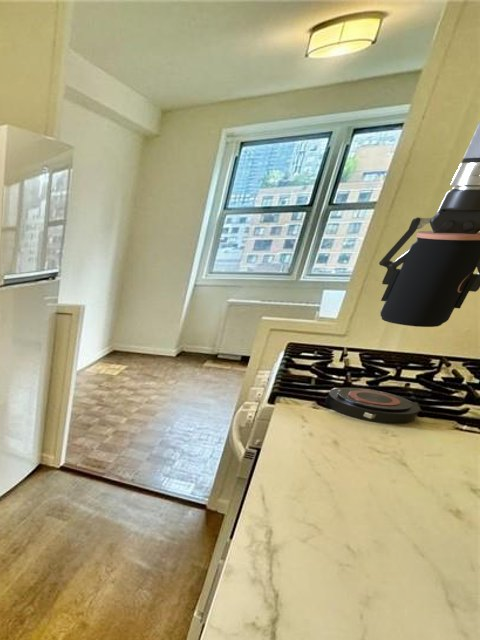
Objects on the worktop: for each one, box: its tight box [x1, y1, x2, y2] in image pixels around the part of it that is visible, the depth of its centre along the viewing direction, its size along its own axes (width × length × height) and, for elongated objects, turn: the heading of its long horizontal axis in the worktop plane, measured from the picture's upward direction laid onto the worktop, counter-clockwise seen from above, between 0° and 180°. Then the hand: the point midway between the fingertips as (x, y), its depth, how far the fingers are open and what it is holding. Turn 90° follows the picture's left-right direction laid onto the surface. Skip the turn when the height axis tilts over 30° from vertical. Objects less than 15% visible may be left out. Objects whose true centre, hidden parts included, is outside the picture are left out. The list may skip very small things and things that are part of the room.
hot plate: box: [324, 387, 421, 425], centre depth 115 cm, size 16×16×3 cm
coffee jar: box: [379, 230, 480, 328], centre depth 102 cm, size 11×11×18 cm
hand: (419, 303), depth 105 cm, fingers closed on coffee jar, 11 cm apart
